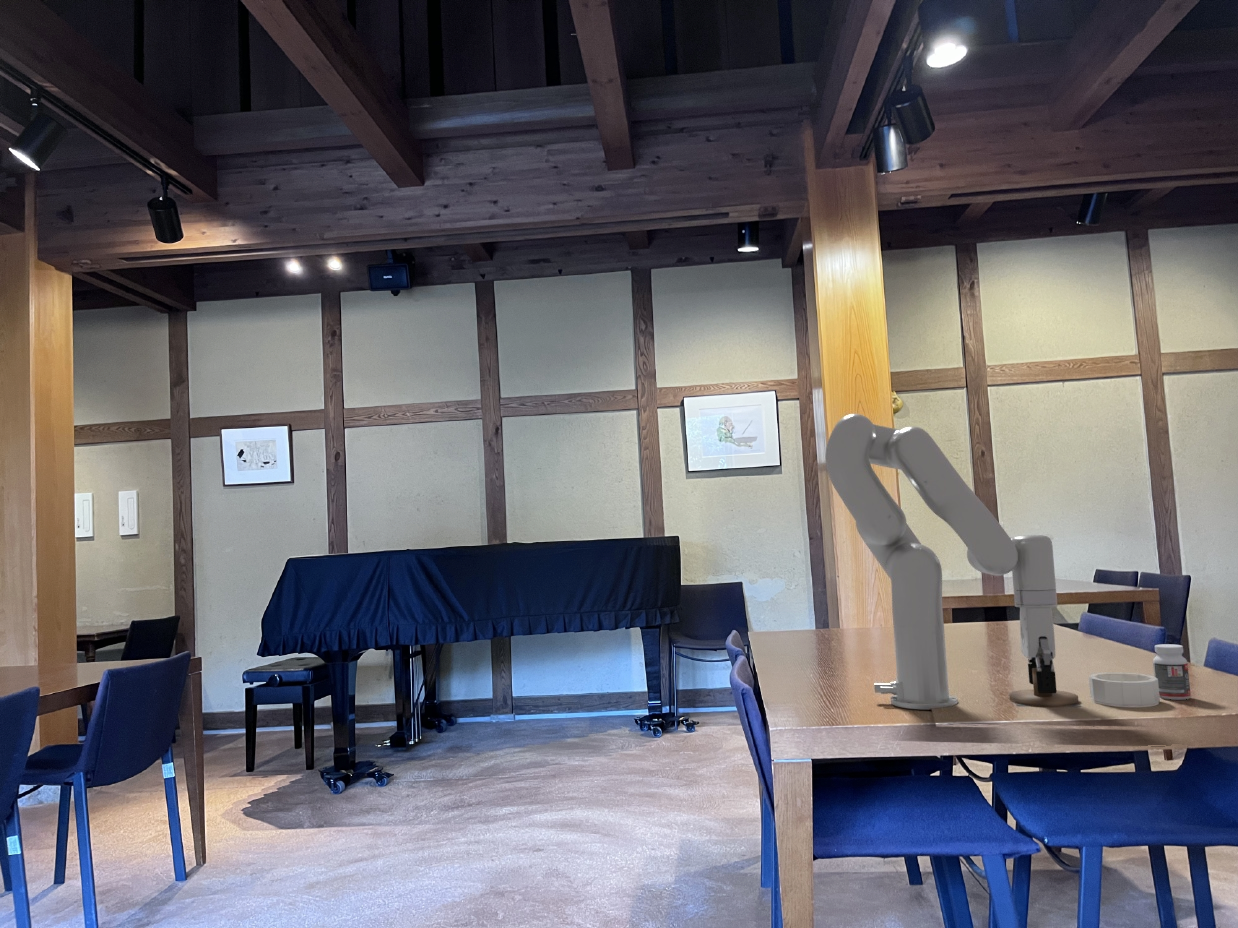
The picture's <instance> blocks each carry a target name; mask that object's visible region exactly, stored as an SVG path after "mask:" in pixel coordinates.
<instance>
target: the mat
mask: <svg viewBox="0 0 1238 928" xmlns="http://www.w3.org/2000/svg"><path fill="white" fill-rule="evenodd" d="M1014 704H1015V705H1016V707H1032V706H1031V705H1023V704H1018V703H1014ZM1062 707H1063V708H1064V707H1067V708H1068V707H1069V708H1071V707H1072V708H1074V707H1075V708H1076V707H1077V708H1081V707H1082V705H1080V704H1079V702H1078V703H1077V704H1074V705H1069V706H1060V708H1062Z"/></svg>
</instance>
